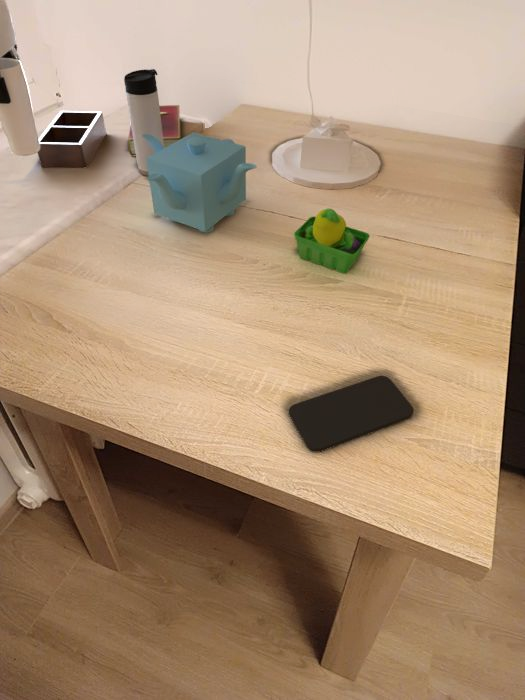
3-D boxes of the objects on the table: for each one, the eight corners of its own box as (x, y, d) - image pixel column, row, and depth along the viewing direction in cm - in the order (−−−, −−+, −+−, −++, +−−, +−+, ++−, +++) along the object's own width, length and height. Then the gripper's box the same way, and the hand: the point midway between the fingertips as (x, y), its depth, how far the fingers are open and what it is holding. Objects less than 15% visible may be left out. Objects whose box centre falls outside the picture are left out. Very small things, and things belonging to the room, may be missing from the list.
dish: (380, 193, 106) (390, 140, 98) (263, 183, 108) (265, 130, 100) (379, 146, 123) (388, 98, 115) (279, 138, 126) (281, 90, 118)
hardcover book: (129, 156, 117) (126, 138, 114) (134, 122, 131) (132, 105, 128) (181, 154, 118) (179, 136, 115) (180, 120, 133) (179, 104, 130)
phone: (285, 406, 64) (385, 372, 68) (285, 410, 64) (384, 376, 68) (312, 452, 59) (417, 413, 63) (311, 456, 59) (416, 417, 64)
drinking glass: (49, 143, 98) (26, 58, 87) (39, 159, 93) (14, 70, 82) (14, 143, 97) (-14, 56, 87) (2, 158, 92) (-29, 69, 82)
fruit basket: (366, 258, 89) (378, 200, 81) (346, 284, 83) (357, 224, 75) (309, 239, 93) (315, 182, 85) (286, 263, 87) (290, 204, 79)
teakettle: (237, 188, 106) (235, 117, 96) (258, 235, 94) (259, 158, 83) (147, 198, 103) (135, 125, 92) (157, 248, 90) (144, 169, 80)
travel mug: (171, 173, 111) (160, 74, 97) (141, 178, 109) (125, 78, 95) (164, 162, 115) (152, 65, 101) (135, 166, 113) (119, 68, 99)
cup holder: (41, 167, 112) (34, 143, 108) (66, 132, 126) (60, 110, 122) (86, 168, 112) (81, 144, 108) (106, 133, 126) (102, 111, 122)
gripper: (-30, -42, 81) (6, 78, 94) (-82, -22, 69) (-33, 112, 82) (16, -40, 81) (46, 79, 94) (-27, -19, 69) (13, 114, 82)
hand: (9, 94), depth 88 cm, fingers closed on drinking glass, 6 cm apart
